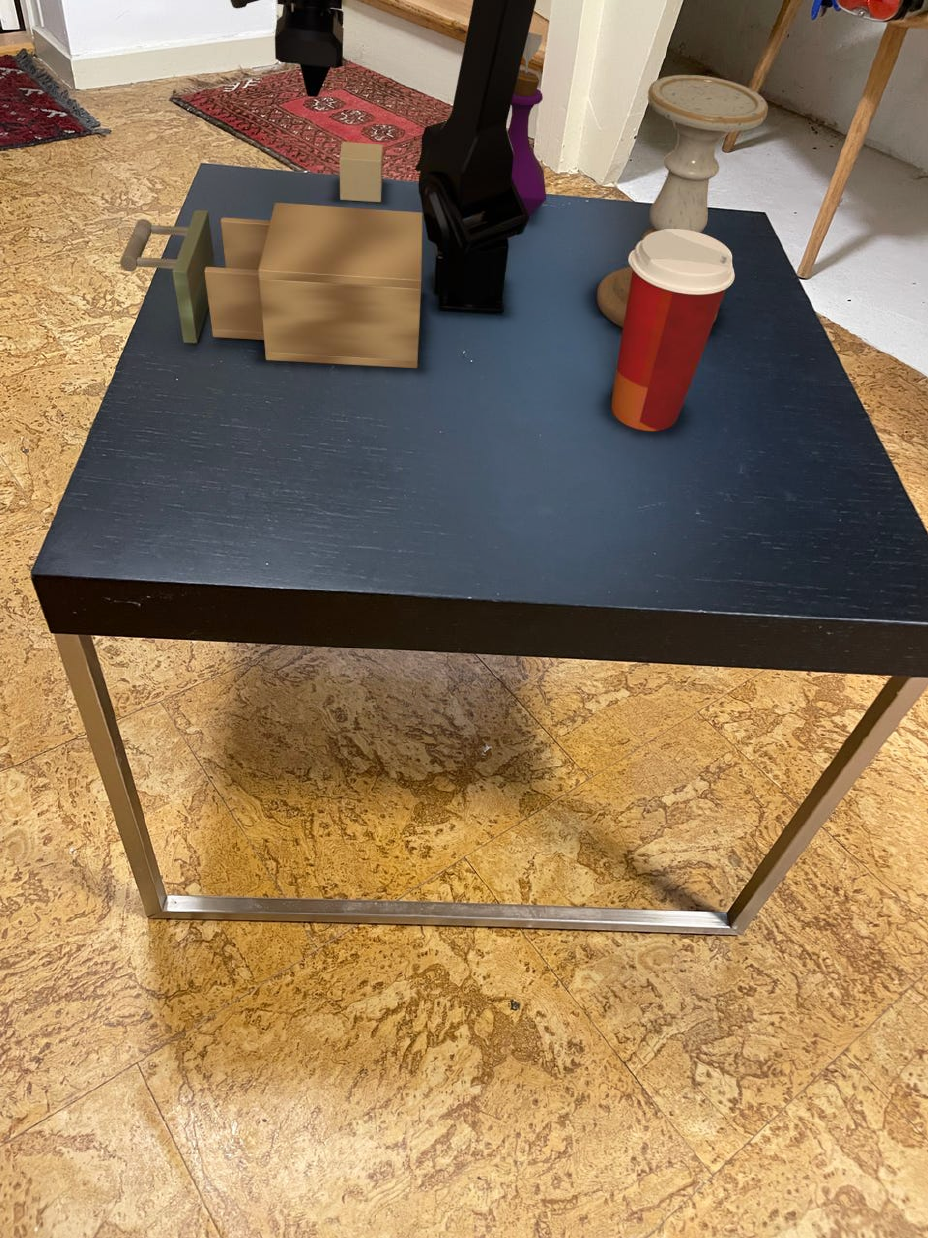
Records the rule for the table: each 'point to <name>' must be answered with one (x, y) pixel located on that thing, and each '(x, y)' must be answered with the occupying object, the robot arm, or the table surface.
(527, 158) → the perfume bottle
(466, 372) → the table surface
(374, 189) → the block
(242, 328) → the drawer
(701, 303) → the coffee cup
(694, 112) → the candle holder
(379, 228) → the cabinet
